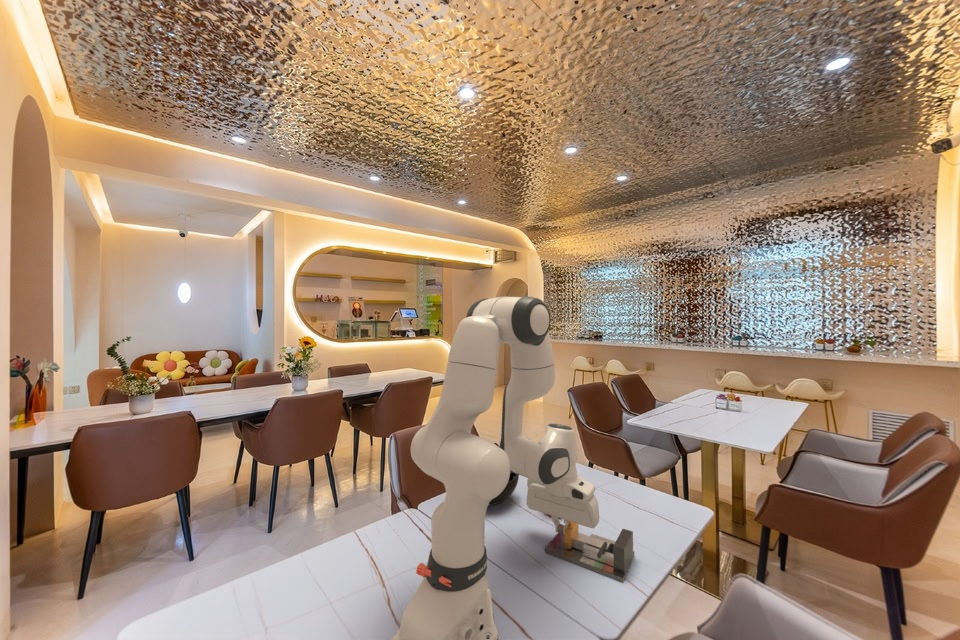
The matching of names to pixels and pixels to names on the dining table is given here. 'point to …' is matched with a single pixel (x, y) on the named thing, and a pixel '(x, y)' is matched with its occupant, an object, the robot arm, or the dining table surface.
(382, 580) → the dining table surface
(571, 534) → the plunger
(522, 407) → the robot arm
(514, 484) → the coal bowl
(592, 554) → the bench
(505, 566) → the dining table surface
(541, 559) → the dining table surface
